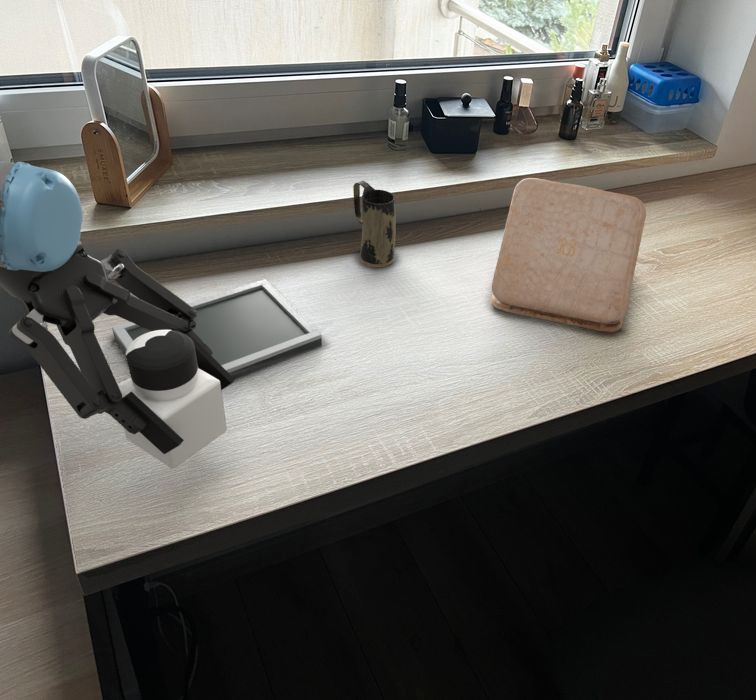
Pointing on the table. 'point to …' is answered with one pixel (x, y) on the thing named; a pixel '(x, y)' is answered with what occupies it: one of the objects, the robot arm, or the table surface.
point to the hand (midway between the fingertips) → (201, 415)
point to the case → (568, 254)
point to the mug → (376, 225)
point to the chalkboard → (244, 328)
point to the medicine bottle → (174, 393)
